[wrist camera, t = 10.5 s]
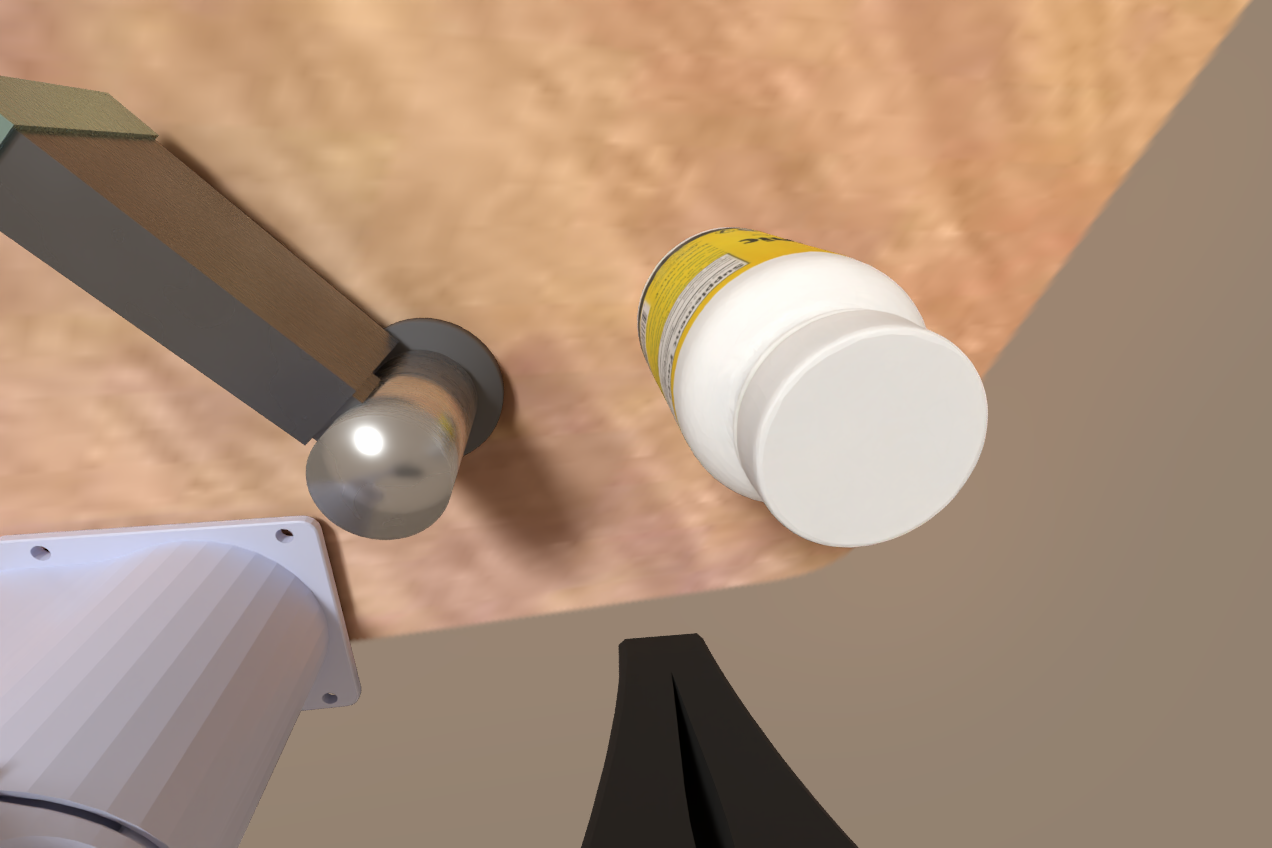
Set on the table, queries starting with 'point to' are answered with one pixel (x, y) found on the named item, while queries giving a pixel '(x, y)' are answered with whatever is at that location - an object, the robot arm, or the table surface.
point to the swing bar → (233, 305)
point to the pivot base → (467, 355)
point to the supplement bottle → (811, 385)
